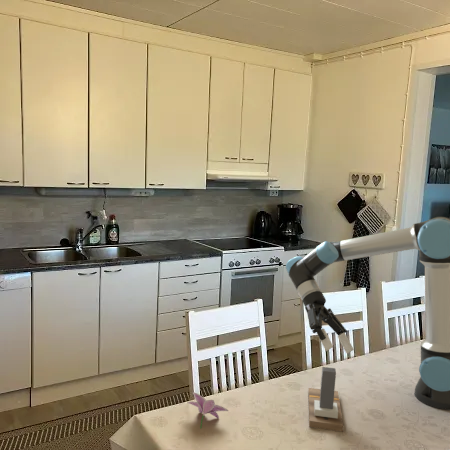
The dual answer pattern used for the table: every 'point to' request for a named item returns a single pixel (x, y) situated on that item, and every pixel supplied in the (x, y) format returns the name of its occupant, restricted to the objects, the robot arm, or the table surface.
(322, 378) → the slider
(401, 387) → the table surface
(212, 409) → the lily
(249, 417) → the table surface
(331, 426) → the board
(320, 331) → the robot arm
